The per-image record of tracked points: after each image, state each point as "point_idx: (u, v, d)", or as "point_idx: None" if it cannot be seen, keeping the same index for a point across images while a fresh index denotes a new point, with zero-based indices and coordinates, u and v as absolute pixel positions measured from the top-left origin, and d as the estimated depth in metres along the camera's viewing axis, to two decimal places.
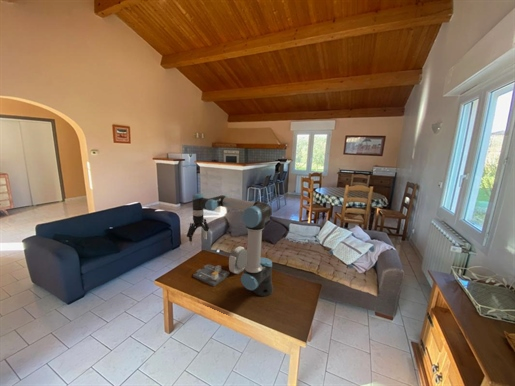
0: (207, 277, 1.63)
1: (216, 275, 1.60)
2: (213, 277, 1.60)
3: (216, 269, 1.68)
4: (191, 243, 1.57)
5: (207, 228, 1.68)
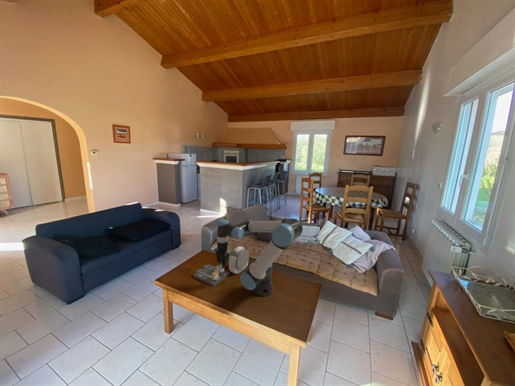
0: (207, 277, 1.63)
1: (216, 275, 1.60)
2: (213, 277, 1.60)
3: (216, 269, 1.68)
4: None
5: None
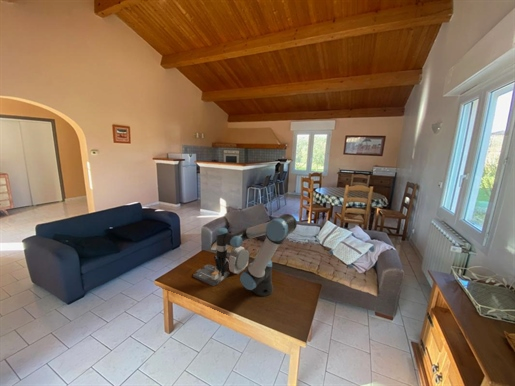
0: (207, 277, 1.63)
1: (216, 275, 1.60)
2: (213, 277, 1.60)
3: (216, 269, 1.68)
4: None
5: (223, 270, 1.55)
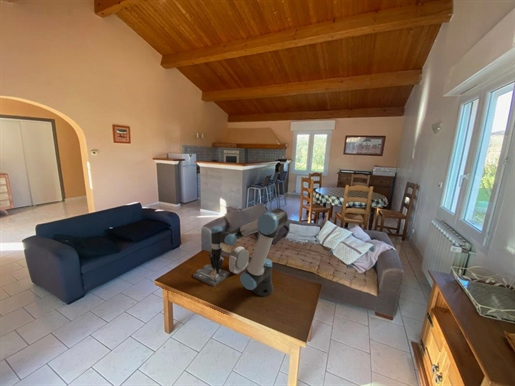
0: (207, 277, 1.63)
1: None
2: (212, 277, 1.60)
3: None
4: None
5: None
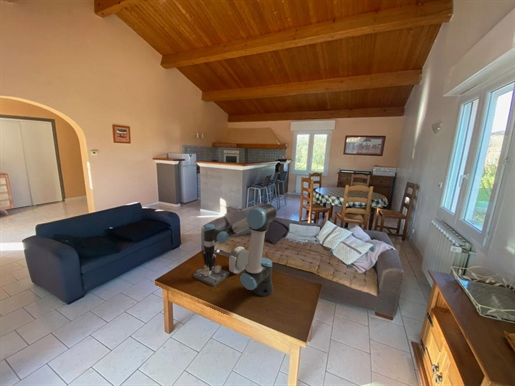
0: (207, 277, 1.63)
1: None
2: (205, 273, 1.64)
3: (216, 269, 1.68)
4: None
5: (211, 265, 1.61)
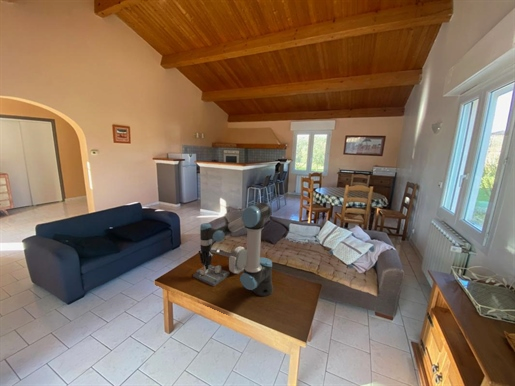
0: (207, 277, 1.63)
1: None
2: (202, 272, 1.65)
3: (216, 269, 1.68)
4: None
5: None
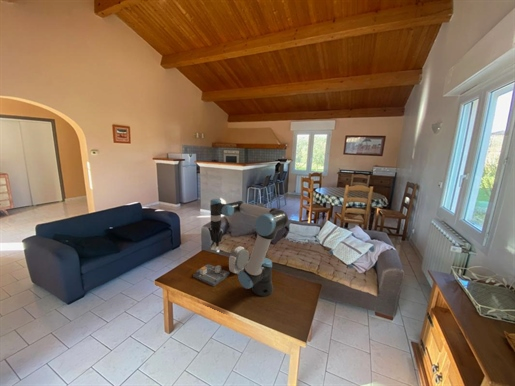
0: (207, 277, 1.63)
1: (204, 270, 1.66)
2: (201, 272, 1.65)
3: (216, 269, 1.68)
4: None
5: (218, 240, 1.59)
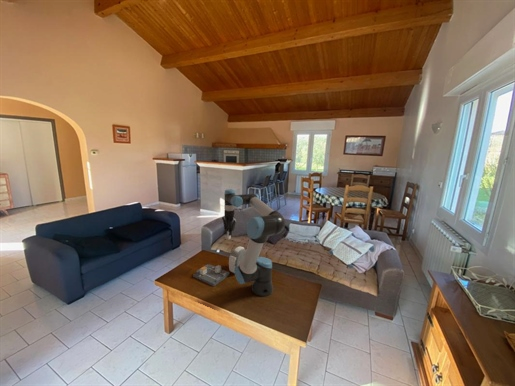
0: (207, 277, 1.63)
1: (204, 270, 1.66)
2: (201, 272, 1.65)
3: (216, 269, 1.68)
4: None
5: (231, 229, 1.66)
